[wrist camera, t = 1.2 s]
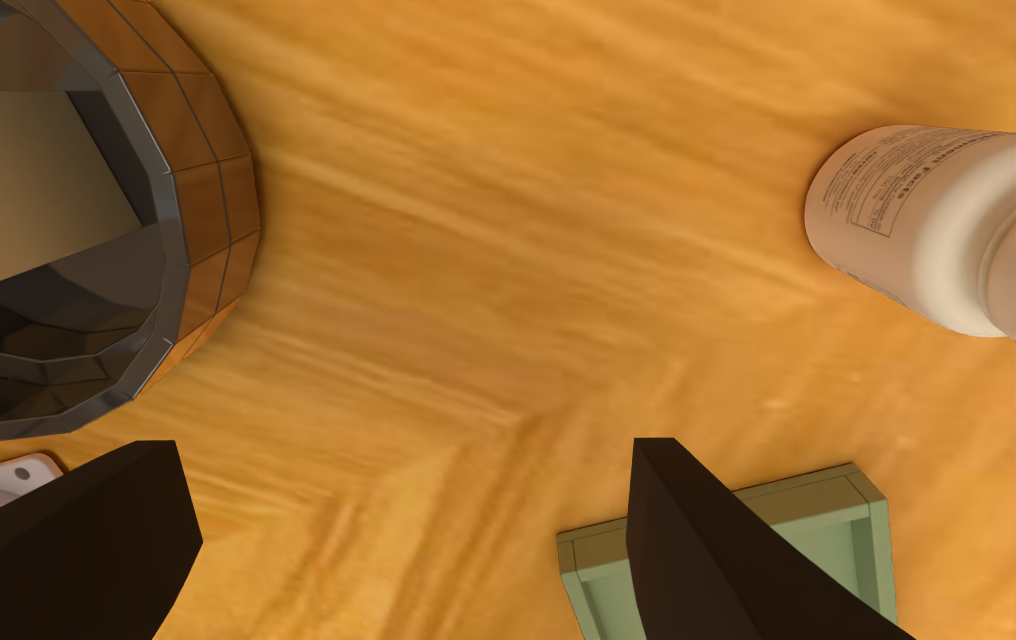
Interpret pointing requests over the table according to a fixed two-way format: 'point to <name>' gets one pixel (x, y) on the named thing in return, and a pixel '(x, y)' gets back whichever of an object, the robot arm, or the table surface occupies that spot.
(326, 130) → the table surface
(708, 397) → the table surface
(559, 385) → the table surface
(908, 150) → the pill bottle
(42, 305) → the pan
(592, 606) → the tray
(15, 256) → the block
